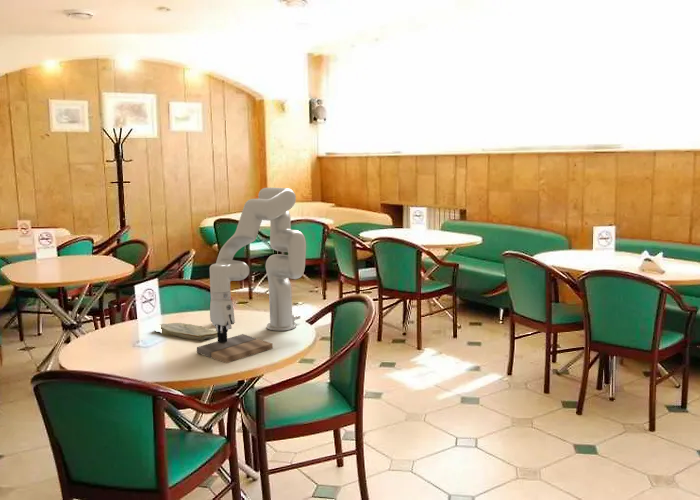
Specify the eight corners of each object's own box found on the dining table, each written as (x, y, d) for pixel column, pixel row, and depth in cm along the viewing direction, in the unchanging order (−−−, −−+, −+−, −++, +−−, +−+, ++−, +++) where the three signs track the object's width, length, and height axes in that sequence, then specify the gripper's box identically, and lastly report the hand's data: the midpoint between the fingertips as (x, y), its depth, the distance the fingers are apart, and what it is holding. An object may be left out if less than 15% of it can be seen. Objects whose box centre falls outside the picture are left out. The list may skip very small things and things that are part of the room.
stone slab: (171, 319, 283) (222, 326, 267) (172, 328, 283) (223, 335, 268) (149, 326, 273) (201, 333, 257) (149, 335, 273) (201, 343, 257)
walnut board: (257, 343, 255) (257, 338, 254) (272, 348, 249) (272, 343, 248) (211, 357, 239) (211, 352, 238) (226, 362, 233) (226, 357, 232)
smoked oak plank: (242, 338, 261) (242, 334, 260) (256, 343, 255) (256, 338, 255) (196, 352, 245) (196, 347, 244) (210, 357, 239) (210, 352, 239)
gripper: (240, 296, 246) (242, 343, 248) (216, 291, 256) (218, 336, 259) (224, 300, 240) (226, 347, 243) (200, 294, 250) (203, 340, 253)
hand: (222, 341), depth 251 cm, fingers closed
